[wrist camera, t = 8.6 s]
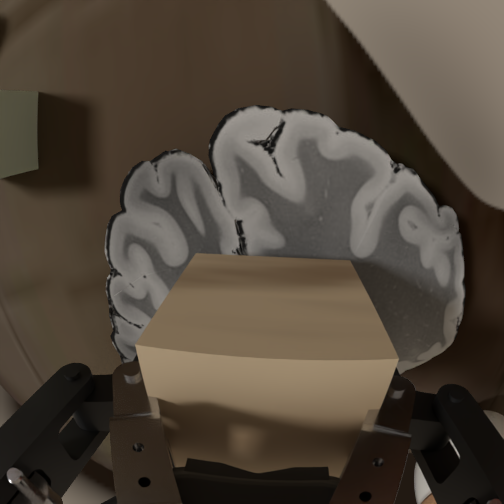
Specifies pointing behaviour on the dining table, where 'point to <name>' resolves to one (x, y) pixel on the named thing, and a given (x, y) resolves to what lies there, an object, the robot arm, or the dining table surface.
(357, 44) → the dining table surface
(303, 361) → the oak block
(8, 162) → the sage block
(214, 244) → the brain slice
